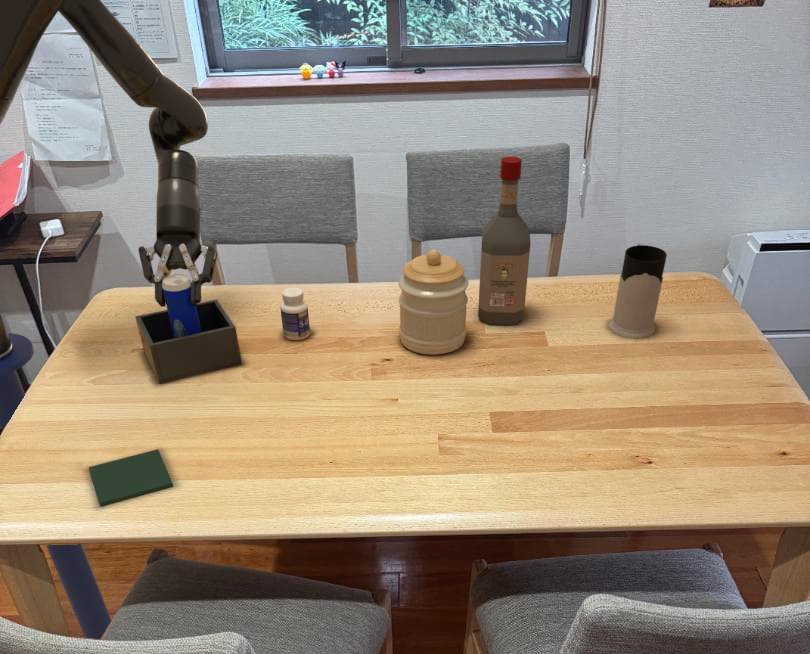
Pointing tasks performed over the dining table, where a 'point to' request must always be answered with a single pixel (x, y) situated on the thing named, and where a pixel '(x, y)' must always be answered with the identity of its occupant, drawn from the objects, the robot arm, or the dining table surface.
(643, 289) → the glass holder
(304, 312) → the pill bottle
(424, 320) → the jar
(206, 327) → the dark grey open box
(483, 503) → the dining table surface
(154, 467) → the mat
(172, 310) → the beverage can
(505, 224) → the liquor
